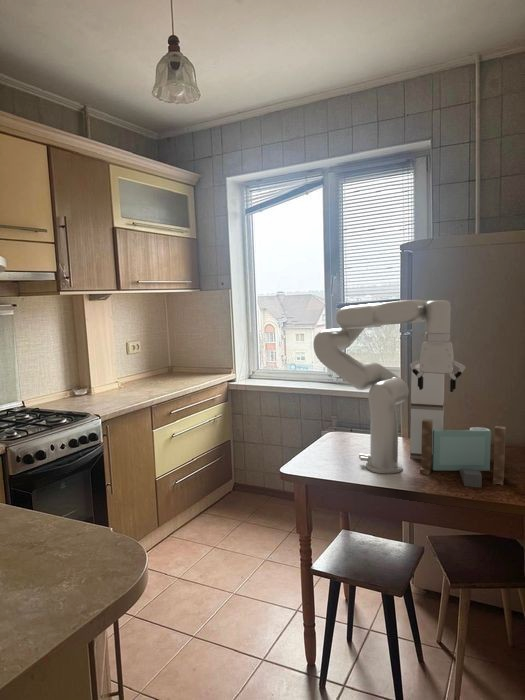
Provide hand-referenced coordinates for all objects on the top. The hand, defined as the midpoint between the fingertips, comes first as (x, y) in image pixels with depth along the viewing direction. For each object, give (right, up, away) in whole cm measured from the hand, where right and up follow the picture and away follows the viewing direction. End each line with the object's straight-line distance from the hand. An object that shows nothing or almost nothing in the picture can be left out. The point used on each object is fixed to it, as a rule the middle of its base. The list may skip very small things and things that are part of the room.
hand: (436, 390), depth 164 cm
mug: (+24, -28, +23) cm, 44 cm away
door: (+12, -29, +11) cm, 33 cm away
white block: (+6, -28, +29) cm, 41 cm away
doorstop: (+12, -30, +3) cm, 33 cm away
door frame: (+11, -30, +6) cm, 32 cm away
